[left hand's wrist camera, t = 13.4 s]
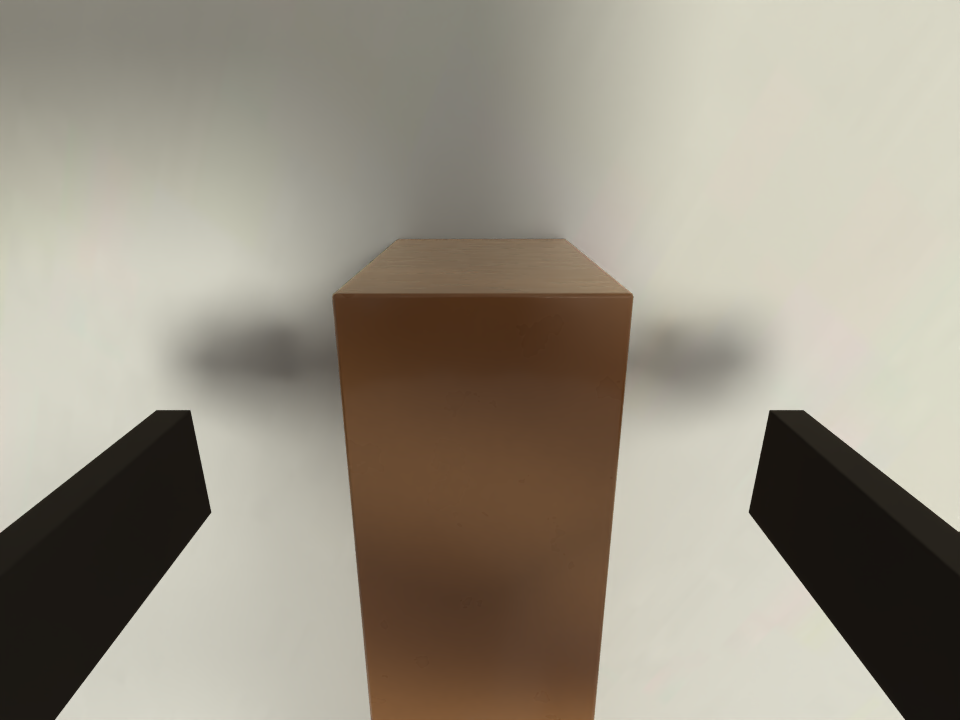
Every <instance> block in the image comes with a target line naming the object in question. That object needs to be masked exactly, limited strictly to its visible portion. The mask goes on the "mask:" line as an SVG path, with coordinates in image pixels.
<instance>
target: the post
mask: <svg viewBox="0 0 960 720" xmlns="http://www.w3.org/2000/svg"><path fill="white" fill-rule="evenodd" d="M332 301H333V312H334V323H335V334H336V344H337V355H338V366H339V377H340V388H341V399H342V410H343V421H344V431H345V442H346V453H347V464H348V475H349V486H350V497H351V507H352V518H353V529H354V540H355V551H356V562H357V573H358V584H359V594H360V605H361V616H362V627H363V638H364V649H365V660H366V670H367V681H368V692H369V703H370V714H371V720H594V715H595V704H596V693H597V683H598V672H599V661H600V650H601V639H602V629H603V618H604V607H605V596H606V586H607V575H608V564H609V553H610V543H611V532H612V521H613V510H614V500H615V489H616V478H617V467H618V457H619V446H620V435H621V424H622V414H623V403H624V392H625V381H626V371H627V360H628V349H629V338H630V328H631V317H632V306H633V294H632V293H631V292H629V291H628V290H627V289H626V288H625V287H623V286H622V285H621V284H620V283H618V282H617V281H616V280H615V279H614V278H612V277H611V276H610V275H609V274H607V273H606V272H605V271H604V270H603V269H601V268H600V267H599V266H598V265H596V264H595V263H594V262H593V261H592V260H590V259H589V258H588V257H587V256H585V255H584V254H583V253H582V252H580V251H579V250H578V249H577V248H576V247H574V246H573V245H572V244H571V243H569V242H568V241H567V240H566V239H398V240H396V241H395V242H394V243H393V244H392V245H390V246H389V247H388V248H387V249H386V250H385V251H383V252H382V253H381V254H380V255H379V256H377V257H376V258H375V259H374V260H373V261H372V262H370V263H369V264H368V265H367V266H366V267H365V268H363V269H362V270H361V271H360V272H359V273H357V274H356V275H355V276H354V277H353V278H352V279H350V280H349V281H348V282H347V283H346V284H345V285H343V286H342V287H341V288H340V289H339V290H338V291H336V292H335V293H334V294H333V296H332Z"/></svg>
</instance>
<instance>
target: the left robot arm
mask: <svg viewBox="0 0 960 720" xmlns="http://www.w3.org/2000/svg"><path fill="white" fill-rule="evenodd" d="M210 513H211V509H210V504H209V499H208V494H207V489H206V484H205V479H204V474H203V470H202V465H201V460H200V455H199V450H198V445H197V440H196V435H195V431H194V426H193V421H192V416H191V411H190V410H156V411H155V412H154V413H152V414H151V415H150V416H149V417H147V418H146V419H145V420H144V421H142V422H141V423H140V424H138V425H137V426H136V427H135V428H133V429H132V430H131V431H130V432H128V433H127V434H126V435H124V436H123V437H122V438H121V439H119V440H118V441H117V442H116V443H114V444H113V445H112V446H110V447H109V448H108V449H107V450H105V451H104V452H103V453H102V454H100V455H99V456H98V457H96V458H95V459H94V460H93V461H91V462H90V463H89V464H88V465H86V466H85V467H84V468H82V469H81V470H80V471H79V472H77V473H76V474H75V475H73V476H72V477H71V478H70V479H68V480H67V481H66V482H65V483H63V484H62V485H61V486H59V487H58V488H57V489H56V490H54V491H53V492H52V493H51V494H49V495H48V496H47V497H45V498H44V499H43V500H42V501H40V502H39V503H38V504H37V505H35V506H34V507H33V508H31V509H30V510H29V511H28V512H26V513H25V514H24V515H23V516H21V517H20V518H19V519H17V520H16V521H15V522H14V523H12V524H11V525H10V526H9V527H7V528H6V529H5V530H3V531H2V532H1V533H0V720H55V719H56V718H57V716H58V715H59V714H60V712H61V711H62V710H63V708H64V707H65V706H66V704H67V703H68V702H69V700H70V699H71V698H72V696H73V695H74V694H75V692H76V691H77V690H78V688H79V687H80V686H81V684H82V683H83V682H84V680H85V679H86V678H87V676H88V675H89V674H90V672H91V671H92V670H93V669H94V667H95V666H96V665H97V663H98V662H99V661H100V659H101V658H102V657H103V655H104V654H105V653H106V651H107V650H108V649H109V647H110V646H111V645H112V643H113V642H114V641H115V639H116V638H117V637H118V635H119V634H120V633H121V631H122V630H123V629H124V627H125V626H126V625H127V623H128V622H129V621H130V619H131V618H132V617H133V616H134V614H135V613H136V612H137V610H138V609H139V608H140V606H141V605H142V604H143V602H144V601H145V600H146V598H147V597H148V596H149V594H150V593H151V592H152V590H153V589H154V588H155V586H156V585H157V584H158V582H159V581H160V580H161V578H162V577H163V576H164V574H165V573H166V572H167V570H168V569H169V568H170V566H171V565H172V564H173V562H174V561H175V560H176V559H177V557H178V556H179V555H180V553H181V552H182V551H183V549H184V548H185V547H186V545H187V544H188V543H189V541H190V540H191V539H192V537H193V536H194V535H195V533H196V532H197V531H198V529H199V528H200V527H201V525H202V524H203V523H204V521H205V520H206V519H207V517H208V516H209V515H210ZM749 513H750V515H751V516H752V517H753V519H754V520H755V521H756V523H757V524H758V525H759V527H760V528H761V529H762V531H763V532H764V533H765V535H766V536H767V537H768V539H769V540H770V541H771V543H772V544H773V545H774V547H775V548H776V549H777V551H778V552H779V553H780V555H781V556H782V557H783V559H784V560H785V561H786V562H787V564H788V565H789V566H790V568H791V569H792V570H793V572H794V573H795V574H796V576H797V577H798V578H799V580H800V581H801V582H802V584H803V585H804V586H805V588H806V589H807V590H808V592H809V593H810V594H811V596H812V597H813V598H814V600H815V601H816V602H817V604H818V605H819V606H820V608H821V609H822V610H823V612H824V613H825V614H826V616H827V617H828V618H829V619H830V621H831V622H832V623H833V625H834V626H835V627H836V629H837V630H838V631H839V633H840V634H841V635H842V637H843V638H844V639H845V641H846V642H847V643H848V645H849V646H850V647H851V649H852V650H853V651H854V653H855V654H856V655H857V657H858V658H859V659H860V661H861V662H862V663H863V665H864V666H865V667H866V669H867V670H868V671H869V672H870V674H871V675H872V676H873V678H874V679H875V680H876V682H877V683H878V684H879V686H880V687H881V688H882V690H883V691H884V692H885V694H886V695H887V696H888V698H889V699H890V700H891V702H892V703H893V704H894V706H895V707H896V708H897V710H898V711H899V712H900V714H901V715H902V716H903V718H904V719H905V720H960V532H958V531H957V530H955V529H954V528H953V527H951V526H950V525H949V524H948V523H946V522H945V521H944V520H943V519H941V518H940V517H939V516H937V515H936V514H935V513H934V512H932V511H931V510H930V509H929V508H927V507H926V506H925V505H923V504H922V503H921V502H920V501H918V500H917V499H916V498H915V497H913V496H912V495H911V494H909V493H908V492H907V491H906V490H904V489H903V488H902V487H901V486H899V485H898V484H897V483H895V482H894V481H893V480H892V479H890V478H889V477H888V476H887V475H885V474H884V473H883V472H881V471H880V470H879V469H878V468H876V467H875V466H874V465H872V464H871V463H870V462H869V461H867V460H866V459H865V458H864V457H862V456H861V455H860V454H858V453H857V452H856V451H855V450H853V449H852V448H851V447H850V446H848V445H847V444H846V443H844V442H843V441H842V440H841V439H839V438H838V437H837V436H836V435H834V434H833V433H832V432H830V431H829V430H828V429H827V428H825V427H824V426H823V425H822V424H820V423H819V422H818V421H816V420H815V419H814V418H813V417H811V416H810V415H809V414H808V413H806V412H805V411H804V410H770V411H769V416H768V421H767V426H766V431H765V435H764V440H763V445H762V450H761V455H760V460H759V465H758V470H757V474H756V479H755V484H754V489H753V494H752V499H751V504H750V509H749Z"/></svg>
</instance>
